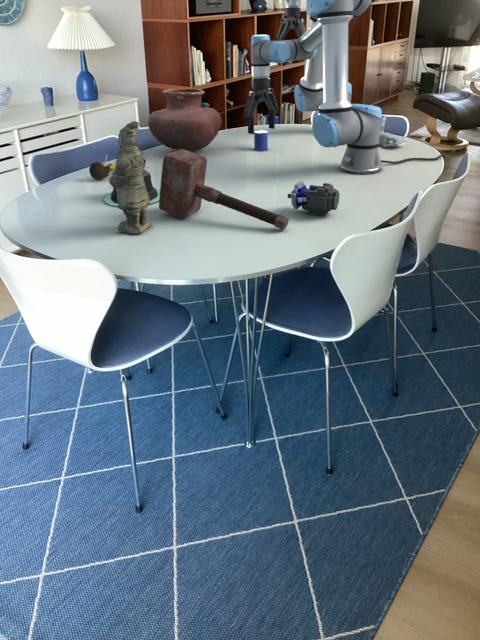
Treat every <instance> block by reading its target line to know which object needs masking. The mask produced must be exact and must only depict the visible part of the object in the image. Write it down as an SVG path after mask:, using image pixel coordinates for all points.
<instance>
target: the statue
mask: <svg viewBox="0 0 480 640" xmlns="http://www.w3.org/2000/svg"><path fill="white" fill-rule="evenodd" d="M139 126H140V122H139V121H136V120H134V121H131V122H129V123H127V124H126V125H125V126H123V127H122V128H121V129H119V133H118V139H117V141H118V146H119V152H118V154H117V156H116V160H115V163H114V164H115V170H114V171H113V172H114V175H113V176H112V175H111V176H110V177H109V180H108V183H109V184H110V186H111V187H112V188H113V187H114V188H115V189H116V192H117V202H118V206H117V209H119V210H122V213H123V214H124V215H125V218H126V219H125V220H122V221H120V222H119V224H118V225H117V231H118V232H121V233H126V234H134V235H136V234H142V233H143V232H145V231H146V230H147V229H148V228H150V227H151V226H152V225H153V223H152V220H150V219H148V216H147V214H148V213H147V212H148V211H147V209H148V206H149V205H150V197H149V195H148V192H147V188H146V184H145V182H144V178H143V169H144V167H145V166H144V159H145V157H144V153H143V151H142V150H141V149H139V147H138V145H137V144H138V142H137V141H138V140H137V139H138V137H137V132H138V131H139V128H140V127H139ZM143 166H144V167H143Z"/></svg>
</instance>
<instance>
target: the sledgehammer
mask: <svg viewBox="0 0 480 640" xmlns="http://www.w3.org/2000/svg"><path fill="white" fill-rule="evenodd" d="M207 164H208V159H207V158H206V157H205V156H203V155H200V154H197V153H195V152H190V151H187V150H184V149H179V150H174V151H172V152H169V153H167V154H165V155H164V156H163V158H162V167H161V176H160V187H159V190H160V198H159V200H158V208H159V210H160V211H162V212H165V213H168V214H170V215H173V216H174V217H177V218H180V219H182V220H185V219H187V218H188V217H190V216H192V215H193V214H195V213H197V212H198V211H199V210H200V209H201V207H202V201H203V200H204V201H207V202H209V203H213V204H215V205H220V206H223V207H225V208H228V209H231V210H233V211H236V212H239V213H241V214H243V215H245V216H248V217H252V218H255V219H257V220H260V221H262V222H264V223H267V224H270V225H273V226H274V228H276V229H280V230H282V231H285V230H286V228H287V227H288V224H289V221H290V218H289V217H288V216H286V215H283V214H281V213H279V214H277V213H275V212H273V211H269V210H267V209H265V208H262V207H259V206H256V205H254V204H251V203H248V202H246V201H244V200H242V199H238V198H236V197H233V196H231V195H228V194H225V193H223V192H222V191H220V190H218V189H215V188H214V187H211V186H208V185H205V181H206V175H207Z"/></svg>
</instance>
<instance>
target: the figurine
mask: <svg viewBox="0 0 480 640" xmlns="http://www.w3.org/2000/svg"><path fill="white" fill-rule="evenodd" d="M108 158H109V156H108V154H106V155H105V158H104V161H102V162H101V161H94V162H92V163H90V165H89V168H88V170H89V171H88V172H89V175H90V177H91V178H93V179H94V180H98V181H99V180H103V179H106V178H107V177H109V175H110V172H114V170H115V164H116V163H108ZM146 162H147V161H146V159H145V158H144V166H143V168H145V166H146Z"/></svg>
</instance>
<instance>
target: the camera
mask: <svg viewBox="0 0 480 640" xmlns="http://www.w3.org/2000/svg"><path fill="white" fill-rule="evenodd" d="M381 118H382V120H381V129H380V137H379V146H378V147H383V148H388V147H394V146H395V147H396V146H400V145H402V144H405V143H407V142H408V140H407V139H405V140H399V137H396V136H393V135H392V133H391V132H385V131H384V130H385V123H386V122H387V116H386V115H382V117H381ZM391 141H392V142H391Z"/></svg>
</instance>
